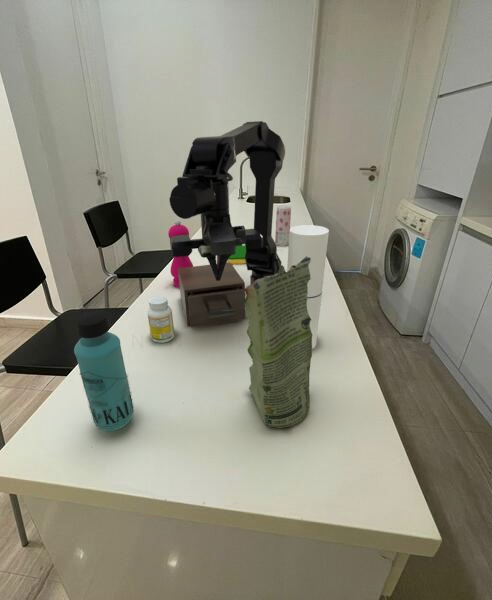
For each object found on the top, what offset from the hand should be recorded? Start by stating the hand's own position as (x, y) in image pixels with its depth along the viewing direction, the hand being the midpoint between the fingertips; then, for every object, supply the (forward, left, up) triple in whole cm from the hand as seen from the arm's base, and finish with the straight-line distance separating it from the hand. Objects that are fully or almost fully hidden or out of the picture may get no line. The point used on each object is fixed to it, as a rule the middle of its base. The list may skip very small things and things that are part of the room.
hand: (218, 280), depth 72 cm
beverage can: (-48, -50, -13) cm, 71 cm away
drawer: (-1, -6, -12) cm, 14 cm away
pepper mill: (0, -30, -13) cm, 33 cm away
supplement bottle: (+13, -3, -13) cm, 19 cm away
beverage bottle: (+26, +19, -13) cm, 35 cm away
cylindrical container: (-14, +12, -13) cm, 23 cm away
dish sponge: (-25, -44, -13) cm, 52 cm away
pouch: (0, +26, -13) cm, 29 cm away
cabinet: (-2, -11, -13) cm, 17 cm away
